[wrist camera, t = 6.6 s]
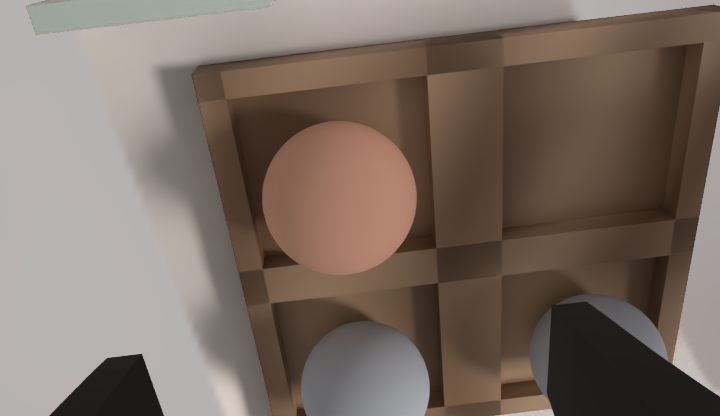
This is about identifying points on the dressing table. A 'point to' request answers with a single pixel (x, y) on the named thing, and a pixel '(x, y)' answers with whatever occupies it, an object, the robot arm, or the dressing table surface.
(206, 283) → the dressing table surface
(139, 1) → the card
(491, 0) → the dressing table surface
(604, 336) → the robot arm
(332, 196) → the terracotta ball
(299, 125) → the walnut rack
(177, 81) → the dressing table surface
